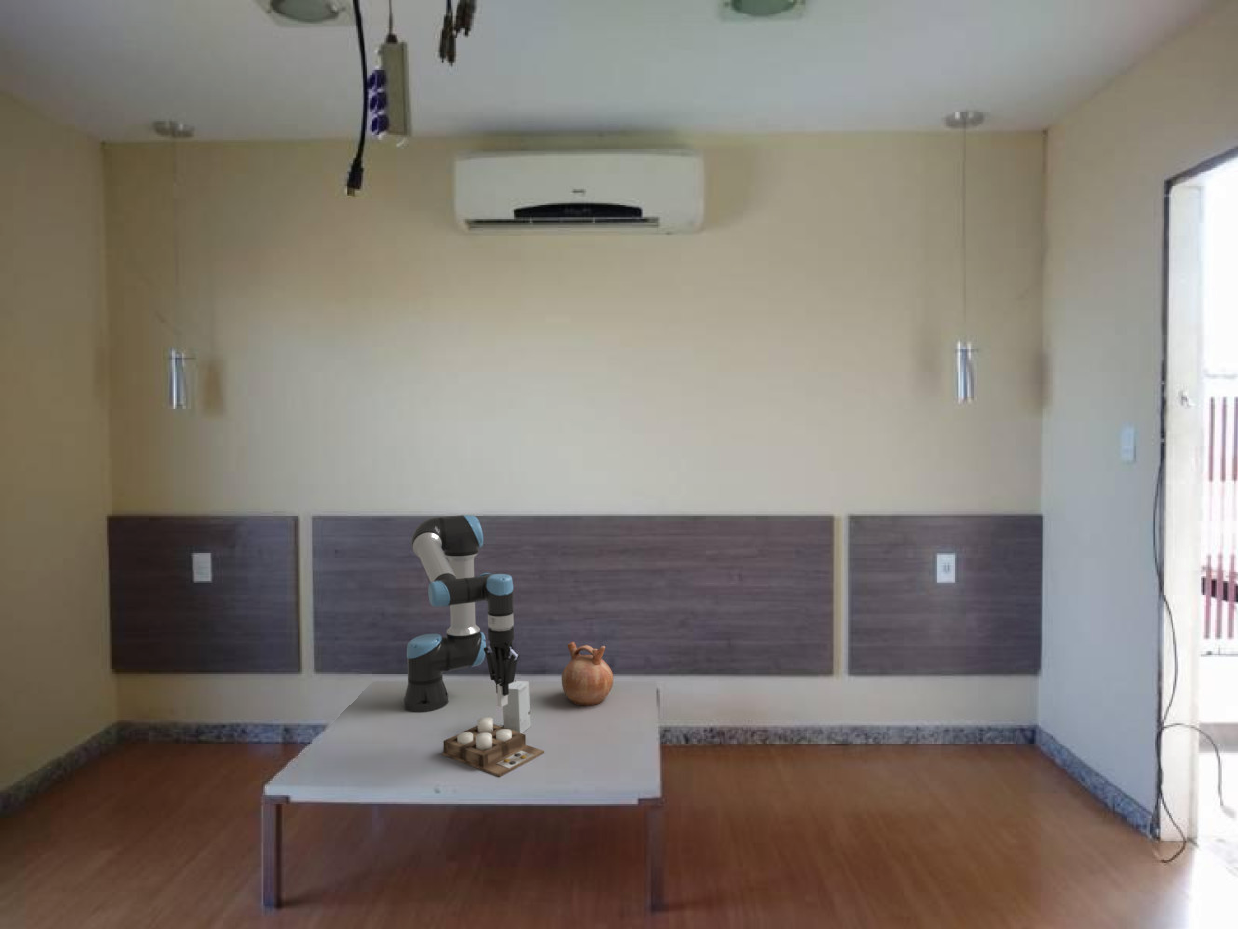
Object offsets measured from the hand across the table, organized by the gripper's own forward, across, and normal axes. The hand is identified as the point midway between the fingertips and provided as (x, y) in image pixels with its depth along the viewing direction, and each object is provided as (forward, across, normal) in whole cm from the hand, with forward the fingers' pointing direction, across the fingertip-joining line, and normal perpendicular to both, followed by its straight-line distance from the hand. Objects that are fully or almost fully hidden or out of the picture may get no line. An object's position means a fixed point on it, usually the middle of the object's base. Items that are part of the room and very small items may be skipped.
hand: (502, 704), depth 225 cm
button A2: (+11, -7, 0) cm, 13 cm away
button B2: (+12, +1, 0) cm, 12 cm away
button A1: (+12, -7, -8) cm, 17 cm away
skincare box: (+14, -6, +12) cm, 19 cm away
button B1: (+10, +1, -8) cm, 13 cm away
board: (+13, 0, -4) cm, 14 cm away
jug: (+14, -4, +45) cm, 47 cm away
